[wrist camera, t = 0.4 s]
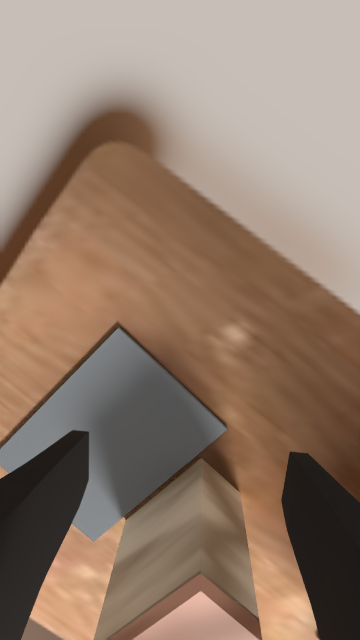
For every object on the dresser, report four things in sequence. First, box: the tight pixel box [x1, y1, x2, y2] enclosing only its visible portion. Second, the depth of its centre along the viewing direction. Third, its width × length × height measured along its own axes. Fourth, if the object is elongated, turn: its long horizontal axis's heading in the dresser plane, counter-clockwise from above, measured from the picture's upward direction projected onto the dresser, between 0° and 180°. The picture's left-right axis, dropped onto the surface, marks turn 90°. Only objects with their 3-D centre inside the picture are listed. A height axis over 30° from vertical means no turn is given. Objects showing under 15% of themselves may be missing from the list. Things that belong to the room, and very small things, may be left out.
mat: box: [0, 327, 227, 541], centre depth 24 cm, size 10×14×1 cm
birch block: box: [94, 458, 262, 640], centre depth 20 cm, size 4×8×9 cm, turn 136°
